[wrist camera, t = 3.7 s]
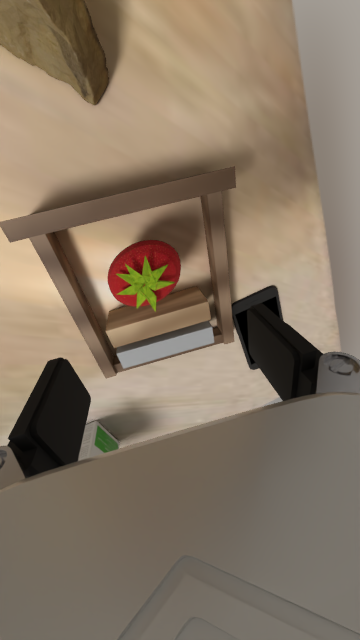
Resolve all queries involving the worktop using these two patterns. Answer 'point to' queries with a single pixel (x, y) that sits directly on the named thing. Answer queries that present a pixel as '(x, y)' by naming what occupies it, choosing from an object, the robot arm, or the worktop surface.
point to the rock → (56, 42)
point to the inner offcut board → (157, 317)
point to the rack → (50, 221)
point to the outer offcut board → (165, 344)
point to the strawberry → (144, 273)
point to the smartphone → (239, 315)
